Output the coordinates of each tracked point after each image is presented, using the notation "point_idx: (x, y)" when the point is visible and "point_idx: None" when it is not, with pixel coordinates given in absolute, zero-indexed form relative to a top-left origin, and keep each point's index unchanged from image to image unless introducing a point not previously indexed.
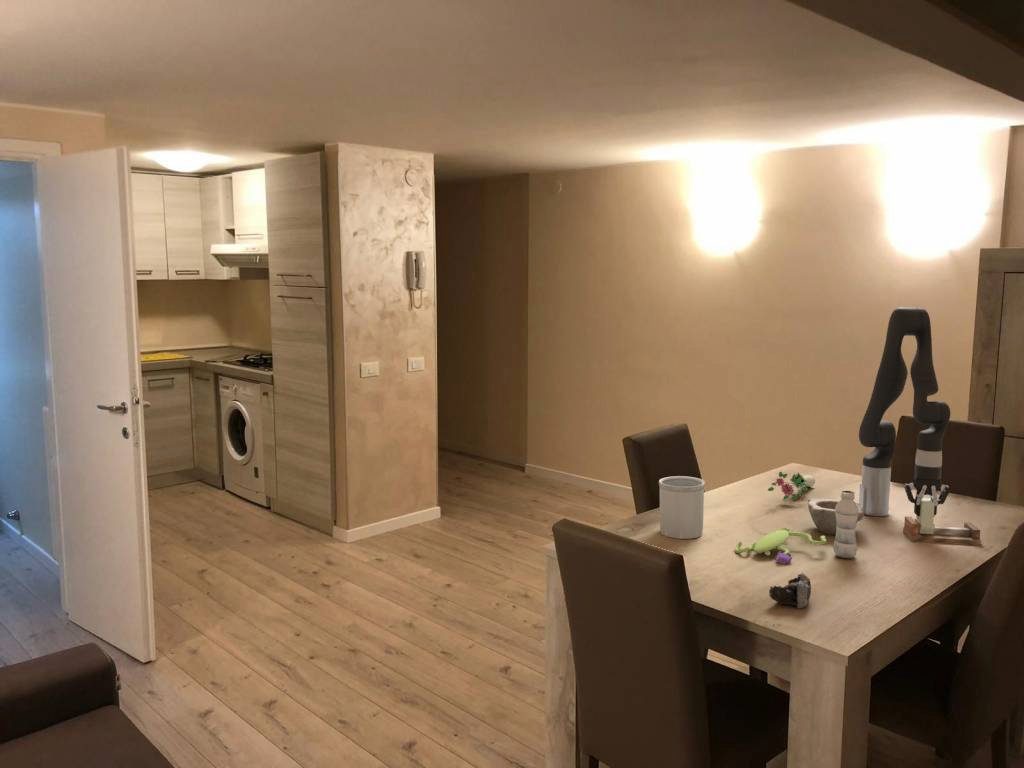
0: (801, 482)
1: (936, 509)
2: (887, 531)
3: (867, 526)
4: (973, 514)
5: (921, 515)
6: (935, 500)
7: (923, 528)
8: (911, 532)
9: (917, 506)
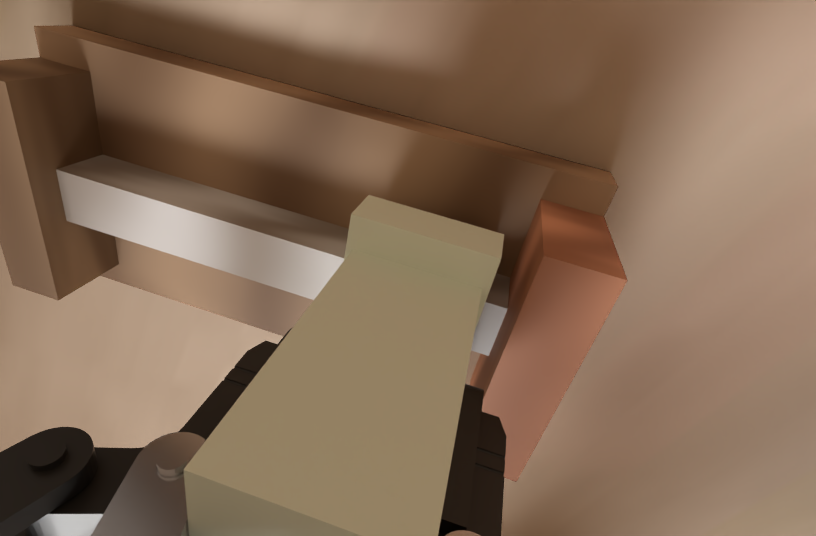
0: None
1: (217, 393)
2: (627, 413)
3: (693, 515)
4: None
5: (470, 351)
6: (133, 529)
7: (478, 229)
8: (608, 231)
9: (474, 515)
